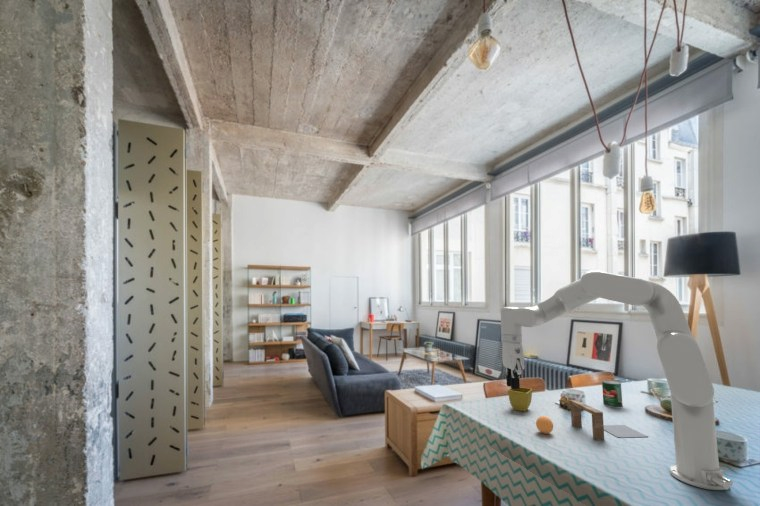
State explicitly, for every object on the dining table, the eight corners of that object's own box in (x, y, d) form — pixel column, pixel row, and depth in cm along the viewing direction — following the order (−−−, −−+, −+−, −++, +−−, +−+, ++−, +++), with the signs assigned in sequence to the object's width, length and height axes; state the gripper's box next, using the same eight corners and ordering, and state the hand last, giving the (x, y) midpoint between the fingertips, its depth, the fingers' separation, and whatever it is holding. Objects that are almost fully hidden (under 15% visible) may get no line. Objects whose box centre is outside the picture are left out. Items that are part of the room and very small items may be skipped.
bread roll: (583, 419, 163) (590, 403, 163) (560, 408, 165) (567, 392, 165) (575, 412, 173) (582, 397, 173) (554, 401, 175) (561, 387, 175)
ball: (556, 435, 134) (556, 419, 135) (541, 436, 134) (540, 419, 134) (548, 429, 140) (547, 413, 141) (533, 430, 140) (532, 414, 140)
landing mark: (648, 437, 134) (648, 436, 134) (618, 437, 133) (618, 437, 133) (624, 425, 146) (624, 424, 146) (596, 426, 145) (596, 425, 145)
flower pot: (528, 414, 159) (527, 393, 160) (508, 410, 164) (507, 389, 165) (533, 409, 166) (532, 388, 167) (513, 405, 171) (513, 385, 172)
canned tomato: (622, 404, 174) (620, 381, 175) (623, 408, 167) (621, 384, 168) (603, 401, 178) (601, 379, 179) (603, 405, 171) (601, 382, 173)
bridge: (604, 439, 131) (602, 412, 132) (596, 440, 131) (595, 412, 132) (578, 424, 146) (577, 400, 147) (571, 425, 145) (570, 400, 147)
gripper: (531, 341, 132) (533, 393, 130) (511, 336, 148) (513, 382, 146) (511, 341, 132) (513, 393, 129) (493, 336, 148) (495, 382, 146)
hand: (513, 386), depth 138 cm, fingers open, 3 cm apart
